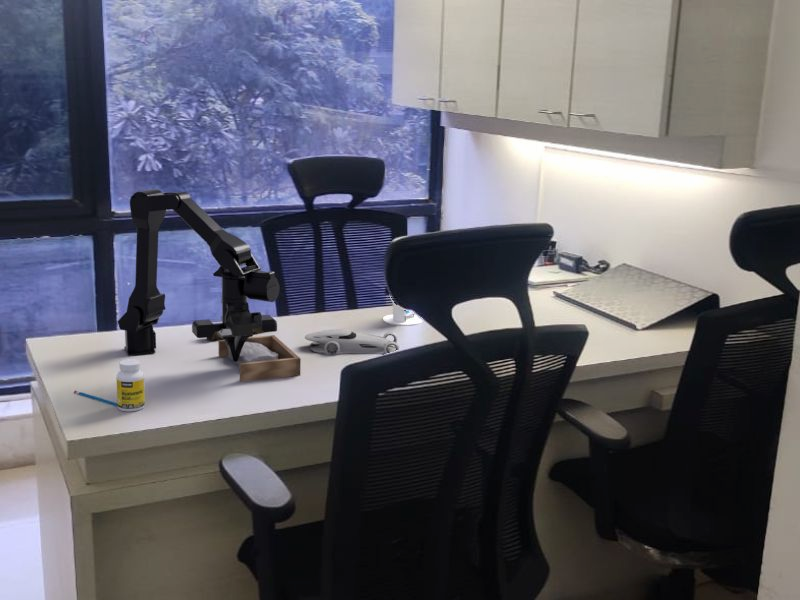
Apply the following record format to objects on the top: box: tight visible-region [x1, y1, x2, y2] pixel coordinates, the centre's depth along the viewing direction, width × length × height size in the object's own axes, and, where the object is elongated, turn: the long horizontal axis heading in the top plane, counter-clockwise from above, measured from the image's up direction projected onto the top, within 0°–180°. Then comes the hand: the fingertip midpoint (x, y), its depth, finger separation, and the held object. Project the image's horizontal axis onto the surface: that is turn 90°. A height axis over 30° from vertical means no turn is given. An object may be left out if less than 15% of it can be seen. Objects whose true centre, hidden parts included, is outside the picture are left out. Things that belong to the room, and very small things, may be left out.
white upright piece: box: [382, 295, 424, 327], centre depth 254 cm, size 12×11×15 cm
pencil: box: [73, 390, 117, 407], centre depth 186 cm, size 1×17×1 cm, turn 58°
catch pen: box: [217, 334, 302, 383], centre depth 212 cm, size 14×20×4 cm
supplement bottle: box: [115, 358, 146, 413], centre depth 182 cm, size 5×5×10 cm
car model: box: [304, 328, 400, 355], centre depth 228 cm, size 11×24×5 cm, turn 93°
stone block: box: [228, 342, 278, 366], centre depth 215 cm, size 12×5×10 cm
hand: (235, 361), depth 210 cm, fingers closed
